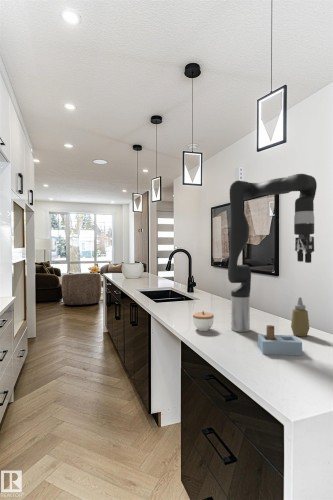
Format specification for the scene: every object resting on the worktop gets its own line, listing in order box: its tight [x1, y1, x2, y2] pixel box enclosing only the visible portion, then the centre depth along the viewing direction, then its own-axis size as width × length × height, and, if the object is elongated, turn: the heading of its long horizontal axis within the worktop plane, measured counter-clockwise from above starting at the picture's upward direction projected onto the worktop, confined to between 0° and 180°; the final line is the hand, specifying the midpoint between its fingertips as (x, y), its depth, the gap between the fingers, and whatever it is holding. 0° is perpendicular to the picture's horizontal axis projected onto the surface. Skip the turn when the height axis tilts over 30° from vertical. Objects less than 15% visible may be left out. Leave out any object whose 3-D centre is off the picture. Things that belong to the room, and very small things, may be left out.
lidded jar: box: [192, 310, 215, 332], centre depth 149 cm, size 11×11×9 cm
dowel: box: [266, 324, 275, 340], centre depth 118 cm, size 3×3×10 cm
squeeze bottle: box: [290, 297, 310, 338], centre depth 138 cm, size 8×8×18 cm
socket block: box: [257, 334, 303, 356], centre depth 118 cm, size 9×15×5 cm, turn 84°
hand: (304, 262), depth 120 cm, fingers open, 8 cm apart
